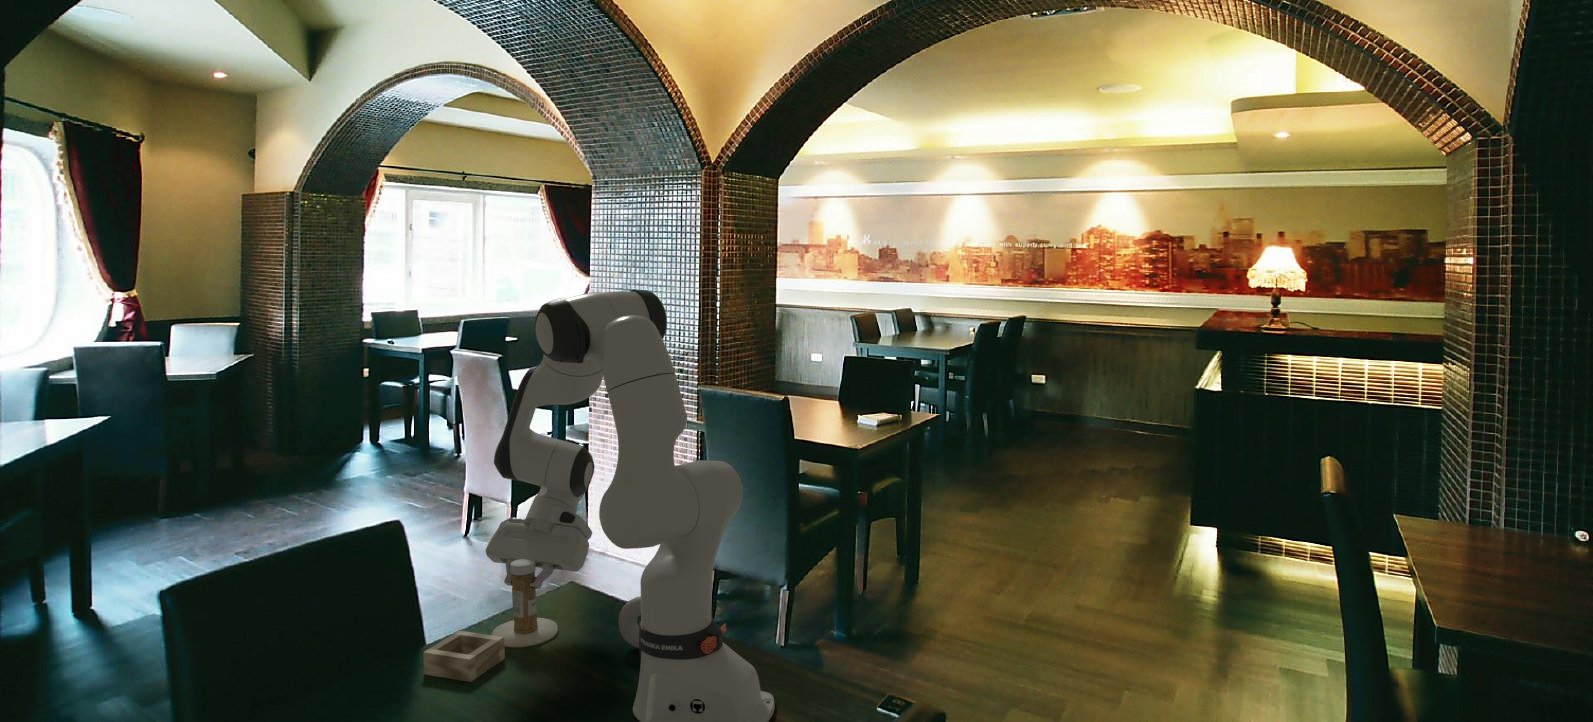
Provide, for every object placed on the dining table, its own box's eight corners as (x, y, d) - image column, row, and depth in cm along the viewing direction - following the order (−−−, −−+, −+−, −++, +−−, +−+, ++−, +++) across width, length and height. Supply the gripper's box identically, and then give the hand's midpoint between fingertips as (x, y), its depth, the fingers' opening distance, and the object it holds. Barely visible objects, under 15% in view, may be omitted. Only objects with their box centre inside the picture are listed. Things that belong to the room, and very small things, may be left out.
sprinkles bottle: (541, 631, 173) (538, 562, 172) (516, 636, 171) (513, 567, 169) (534, 623, 177) (531, 556, 175) (510, 628, 175) (507, 560, 173)
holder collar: (504, 658, 163) (503, 637, 163) (470, 682, 154) (469, 659, 154) (460, 651, 166) (459, 630, 166) (424, 674, 157) (423, 652, 157)
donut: (616, 651, 166) (614, 598, 165) (622, 643, 170) (621, 591, 169) (669, 654, 165) (668, 601, 164) (674, 646, 168) (673, 594, 167)
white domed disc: (569, 625, 178) (569, 621, 178) (534, 651, 166) (534, 646, 166) (516, 618, 181) (516, 614, 181) (478, 642, 170) (478, 638, 170)
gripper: (496, 509, 181) (467, 573, 173) (587, 517, 175) (561, 584, 167) (511, 524, 186) (482, 587, 178) (599, 533, 180) (575, 599, 172)
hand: (521, 586), depth 172 cm, fingers closed on sprinkles bottle, 4 cm apart
